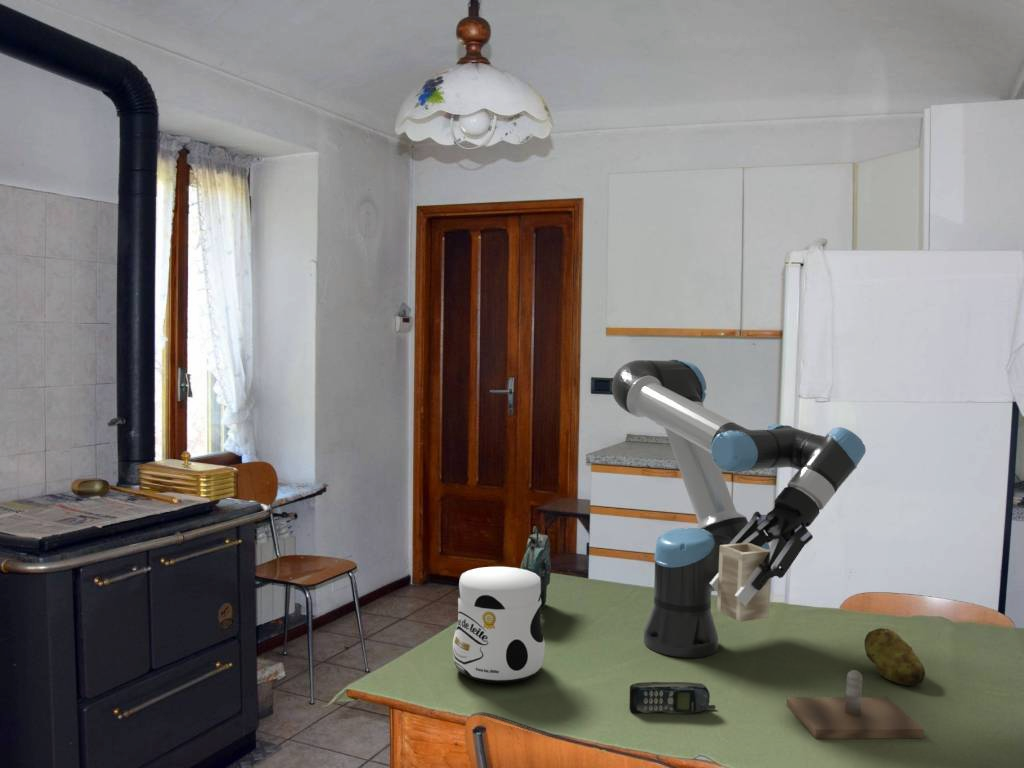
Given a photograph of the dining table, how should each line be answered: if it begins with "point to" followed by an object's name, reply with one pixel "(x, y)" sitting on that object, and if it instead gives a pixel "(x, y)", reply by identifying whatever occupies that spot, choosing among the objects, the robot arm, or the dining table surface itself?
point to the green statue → (538, 560)
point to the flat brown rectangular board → (853, 715)
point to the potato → (893, 657)
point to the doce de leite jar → (499, 625)
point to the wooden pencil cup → (741, 581)
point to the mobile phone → (669, 697)
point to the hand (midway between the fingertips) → (727, 594)
